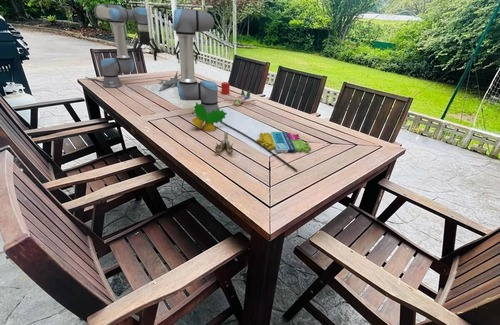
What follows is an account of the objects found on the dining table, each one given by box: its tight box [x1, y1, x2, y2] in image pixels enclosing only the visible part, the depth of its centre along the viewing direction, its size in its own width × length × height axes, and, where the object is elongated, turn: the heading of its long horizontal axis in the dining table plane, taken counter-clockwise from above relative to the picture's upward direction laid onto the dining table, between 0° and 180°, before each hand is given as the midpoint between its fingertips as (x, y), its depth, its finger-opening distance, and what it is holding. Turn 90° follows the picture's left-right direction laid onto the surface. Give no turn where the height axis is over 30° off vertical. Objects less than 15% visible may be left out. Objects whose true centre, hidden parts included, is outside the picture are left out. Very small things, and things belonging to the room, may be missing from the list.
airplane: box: [156, 70, 180, 92], centre depth 249 cm, size 38×31×10 cm
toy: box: [223, 89, 257, 106], centre depth 219 cm, size 28×7×30 cm
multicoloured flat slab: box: [256, 131, 312, 154], centre depth 152 cm, size 26×2×30 cm
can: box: [220, 81, 231, 96], centre depth 238 cm, size 7×7×10 cm
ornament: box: [191, 102, 228, 132], centre depth 162 cm, size 21×8×15 cm, turn 105°
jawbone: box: [214, 131, 234, 156], centre depth 136 cm, size 9×15×10 cm
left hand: (147, 61), depth 206 cm, fingers open, 13 cm apart
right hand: (187, 63), depth 213 cm, fingers open, 13 cm apart
